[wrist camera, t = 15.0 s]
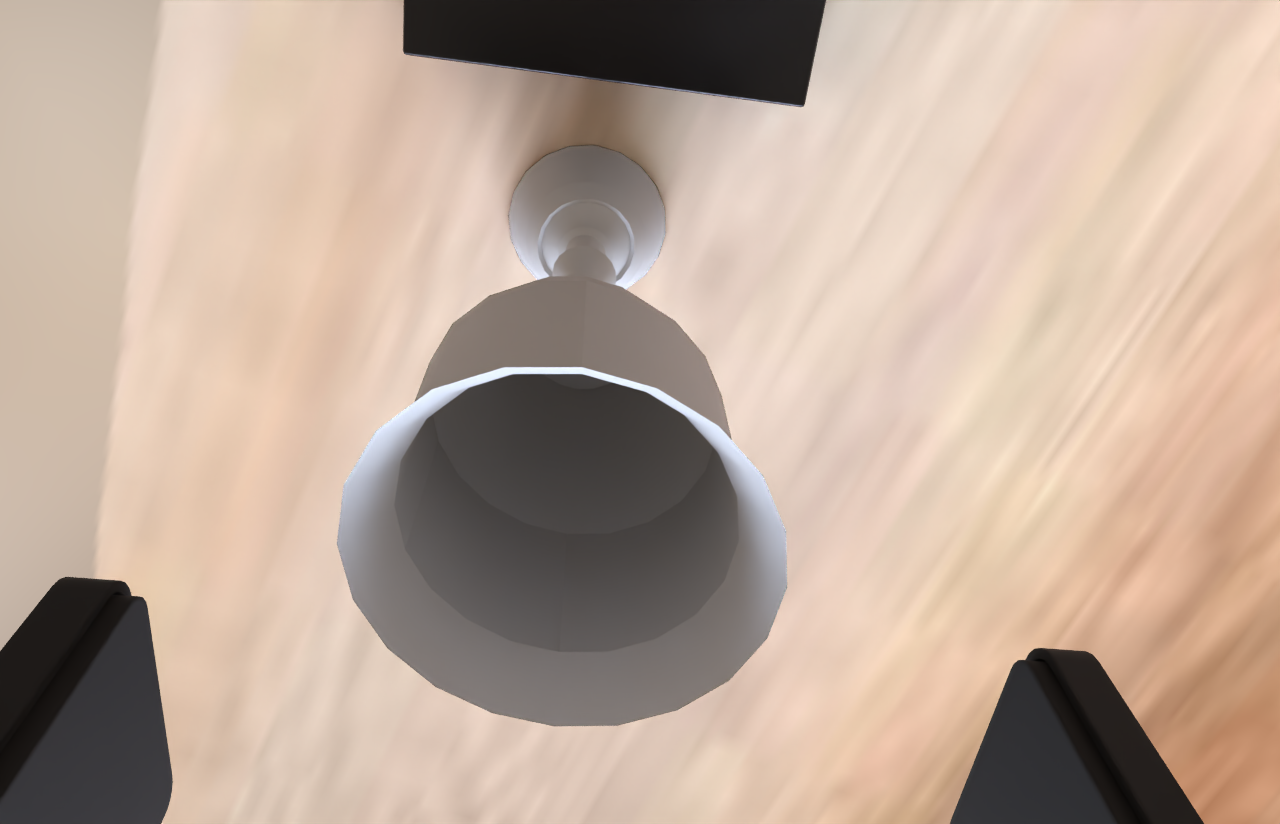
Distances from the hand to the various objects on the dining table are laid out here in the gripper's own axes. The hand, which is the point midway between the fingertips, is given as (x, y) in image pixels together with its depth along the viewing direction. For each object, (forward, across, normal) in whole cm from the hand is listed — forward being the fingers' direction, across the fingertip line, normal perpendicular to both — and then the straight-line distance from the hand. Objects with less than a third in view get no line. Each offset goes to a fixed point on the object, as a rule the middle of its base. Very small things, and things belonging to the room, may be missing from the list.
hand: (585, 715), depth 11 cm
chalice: (+23, 0, +1) cm, 23 cm away
